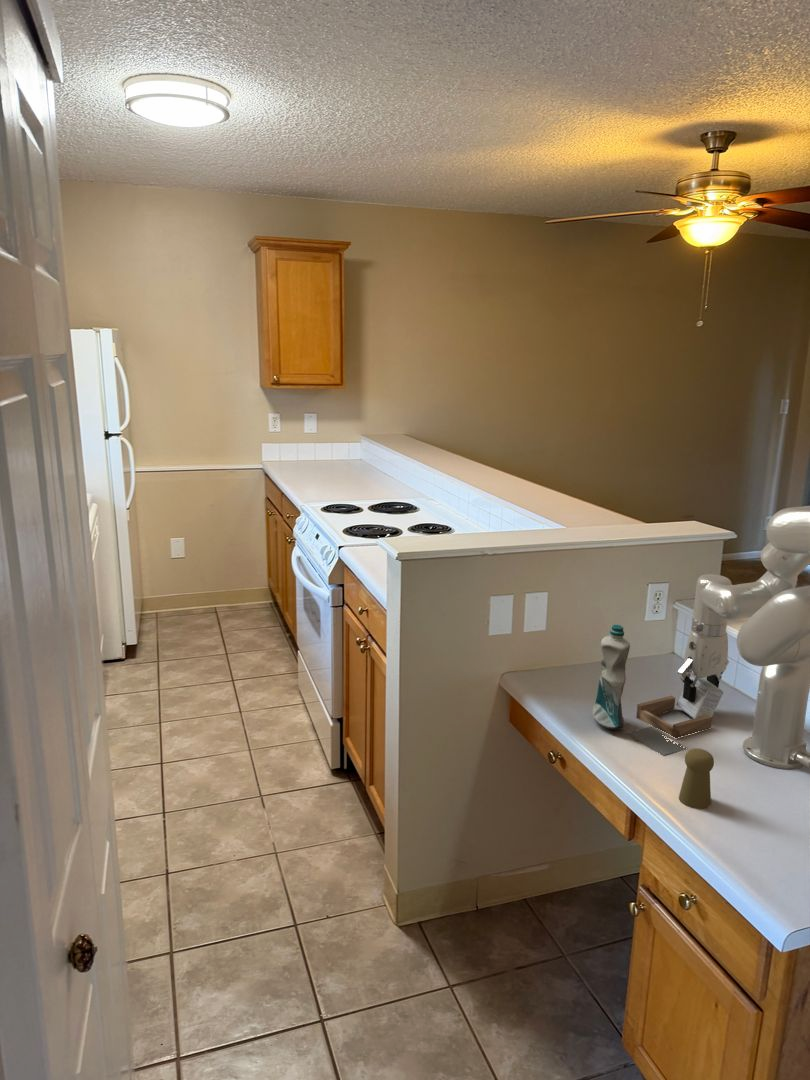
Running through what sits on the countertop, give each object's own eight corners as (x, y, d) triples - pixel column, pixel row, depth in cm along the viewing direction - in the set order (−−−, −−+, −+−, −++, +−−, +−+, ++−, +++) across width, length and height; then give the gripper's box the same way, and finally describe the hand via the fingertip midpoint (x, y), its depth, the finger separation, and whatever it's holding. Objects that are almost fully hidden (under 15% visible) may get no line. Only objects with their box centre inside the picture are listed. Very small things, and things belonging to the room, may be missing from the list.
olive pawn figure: (694, 815, 142) (700, 763, 139) (671, 798, 147) (676, 747, 144) (718, 808, 144) (724, 756, 141) (694, 792, 149) (700, 741, 147)
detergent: (584, 714, 182) (591, 615, 176) (613, 713, 183) (621, 615, 177) (603, 740, 169) (611, 636, 163) (634, 739, 170) (643, 635, 164)
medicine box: (708, 724, 177) (724, 692, 176) (693, 719, 176) (710, 686, 175) (689, 709, 185) (705, 678, 184) (675, 704, 183) (690, 673, 182)
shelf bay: (710, 730, 174) (712, 716, 173) (675, 740, 169) (677, 726, 169) (670, 708, 185) (671, 695, 184) (636, 717, 180) (637, 704, 179)
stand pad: (687, 750, 165) (687, 748, 165) (663, 757, 162) (663, 755, 162) (650, 728, 175) (650, 726, 175) (627, 735, 172) (627, 732, 172)
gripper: (695, 638, 169) (686, 710, 174) (747, 626, 177) (737, 696, 182) (669, 627, 176) (661, 697, 180) (721, 616, 184) (712, 683, 188)
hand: (700, 696), depth 181 cm, fingers closed on medicine box, 7 cm apart
